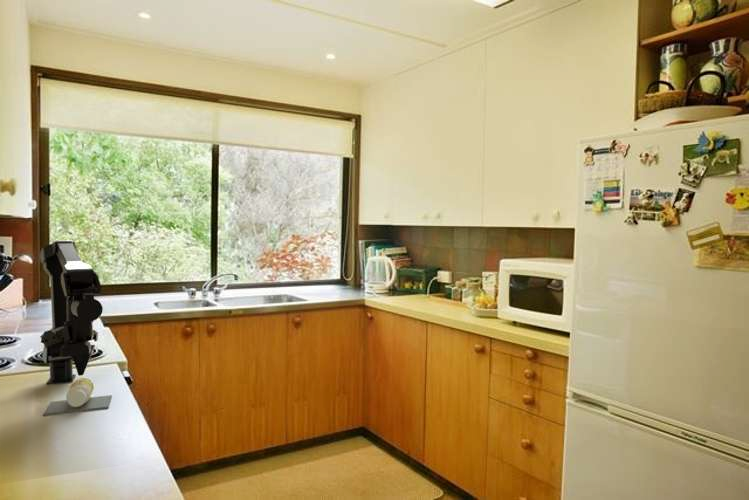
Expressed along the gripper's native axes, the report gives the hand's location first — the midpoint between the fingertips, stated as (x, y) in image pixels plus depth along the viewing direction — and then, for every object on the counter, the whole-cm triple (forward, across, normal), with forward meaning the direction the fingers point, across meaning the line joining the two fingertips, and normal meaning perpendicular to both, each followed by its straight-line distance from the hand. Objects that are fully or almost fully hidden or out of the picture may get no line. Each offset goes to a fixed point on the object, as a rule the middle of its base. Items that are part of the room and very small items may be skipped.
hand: (80, 375), depth 132 cm
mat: (+7, +4, 0) cm, 8 cm away
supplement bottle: (+4, -2, 0) cm, 4 cm away
